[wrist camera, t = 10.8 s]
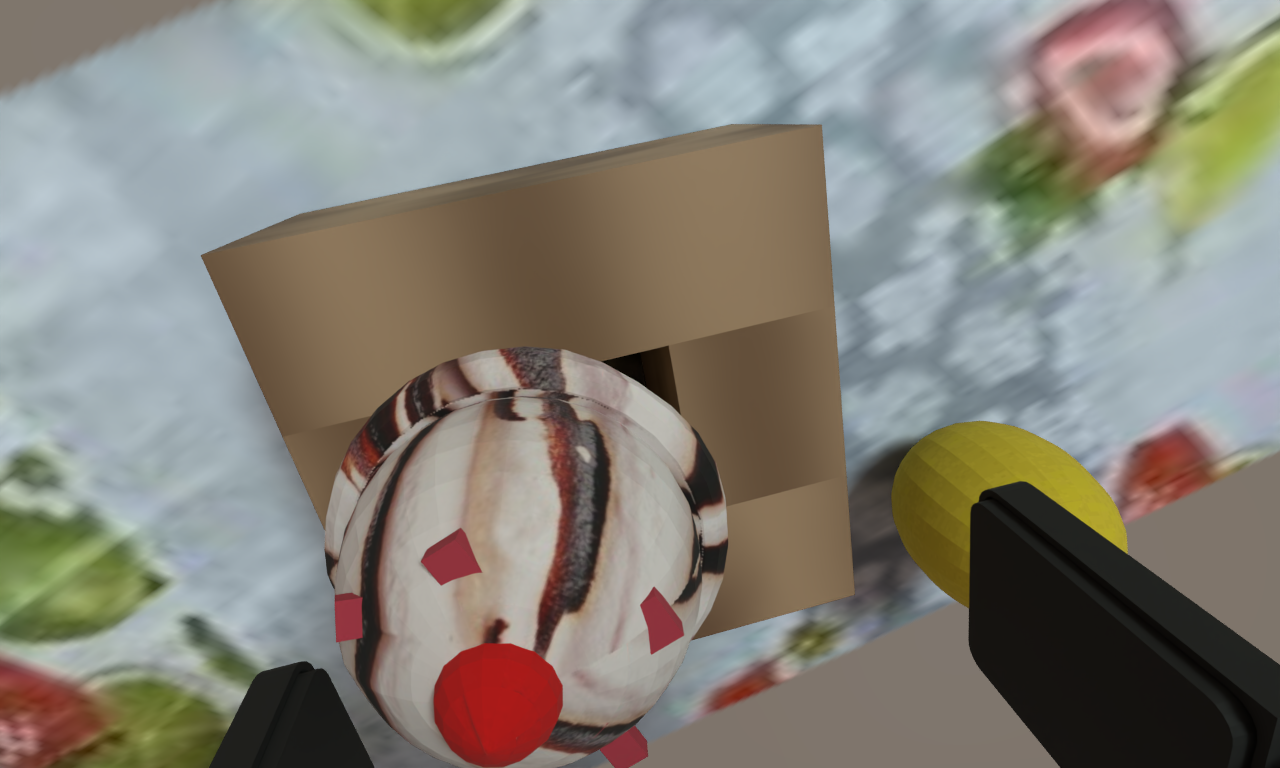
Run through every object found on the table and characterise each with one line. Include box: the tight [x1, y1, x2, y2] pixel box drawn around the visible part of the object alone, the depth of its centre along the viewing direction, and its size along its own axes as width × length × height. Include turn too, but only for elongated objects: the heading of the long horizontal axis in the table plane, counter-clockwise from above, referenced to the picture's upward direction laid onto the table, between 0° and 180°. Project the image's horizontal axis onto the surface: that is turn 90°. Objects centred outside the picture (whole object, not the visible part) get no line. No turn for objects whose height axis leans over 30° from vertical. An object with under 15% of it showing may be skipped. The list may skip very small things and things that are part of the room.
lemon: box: [891, 421, 1128, 608], centre depth 20 cm, size 6×6×8 cm
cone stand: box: [201, 124, 855, 640], centre depth 18 cm, size 12×12×6 cm
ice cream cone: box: [325, 346, 728, 768], centre depth 13 cm, size 6×6×15 cm
